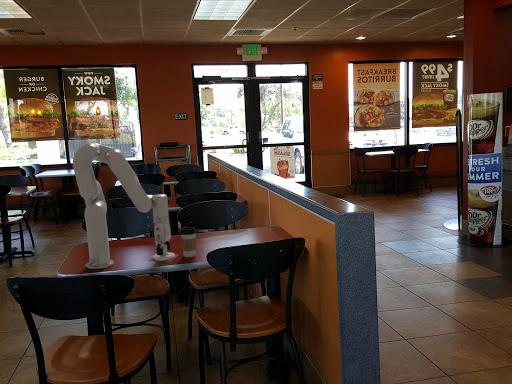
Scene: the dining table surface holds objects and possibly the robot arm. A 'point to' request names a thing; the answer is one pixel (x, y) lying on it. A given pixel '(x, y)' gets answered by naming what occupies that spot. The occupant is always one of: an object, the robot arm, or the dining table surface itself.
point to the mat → (166, 260)
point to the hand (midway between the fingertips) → (163, 252)
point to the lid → (164, 255)
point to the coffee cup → (188, 241)
